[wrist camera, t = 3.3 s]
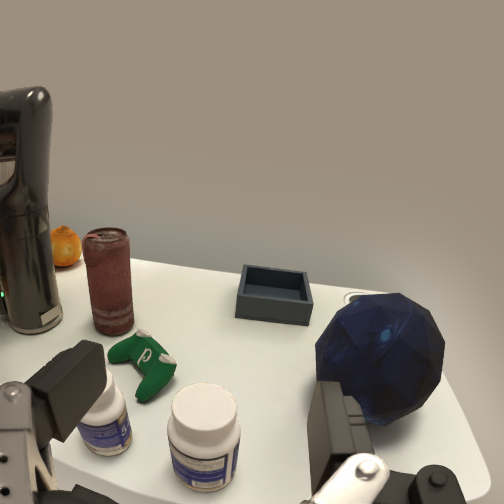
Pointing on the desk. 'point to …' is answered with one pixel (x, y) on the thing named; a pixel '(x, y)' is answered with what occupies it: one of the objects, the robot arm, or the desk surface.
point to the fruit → (65, 246)
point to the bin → (274, 295)
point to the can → (109, 279)
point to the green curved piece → (145, 362)
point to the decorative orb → (382, 355)
